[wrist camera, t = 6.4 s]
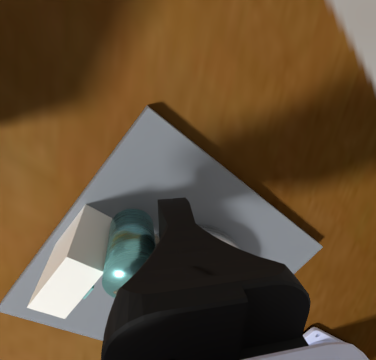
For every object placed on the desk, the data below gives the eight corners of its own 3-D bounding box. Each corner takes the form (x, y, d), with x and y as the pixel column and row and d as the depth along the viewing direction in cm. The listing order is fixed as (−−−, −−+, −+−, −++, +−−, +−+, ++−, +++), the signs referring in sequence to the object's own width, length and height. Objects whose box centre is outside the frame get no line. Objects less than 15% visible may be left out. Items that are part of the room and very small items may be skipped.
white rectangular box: (115, 219, 13) (108, 274, 10) (85, 256, 14) (69, 320, 10) (85, 204, 13) (66, 256, 9) (55, 243, 13) (26, 307, 10)
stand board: (315, 240, 19) (322, 247, 18) (191, 356, 21) (193, 366, 21) (147, 104, 12) (148, 107, 11) (2, 299, 15) (-4, 310, 14)
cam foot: (259, 276, 18) (296, 337, 14) (168, 331, 18) (178, 406, 14) (181, 162, 13) (203, 206, 9) (60, 243, 13) (27, 319, 9)
